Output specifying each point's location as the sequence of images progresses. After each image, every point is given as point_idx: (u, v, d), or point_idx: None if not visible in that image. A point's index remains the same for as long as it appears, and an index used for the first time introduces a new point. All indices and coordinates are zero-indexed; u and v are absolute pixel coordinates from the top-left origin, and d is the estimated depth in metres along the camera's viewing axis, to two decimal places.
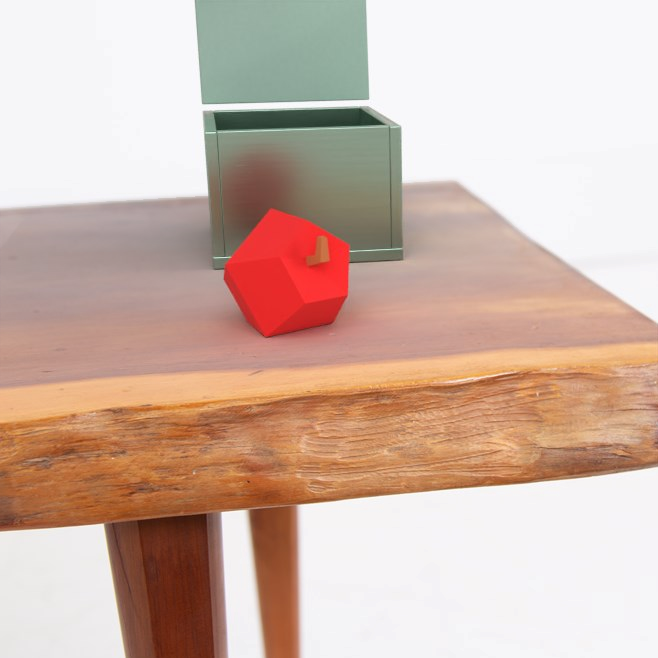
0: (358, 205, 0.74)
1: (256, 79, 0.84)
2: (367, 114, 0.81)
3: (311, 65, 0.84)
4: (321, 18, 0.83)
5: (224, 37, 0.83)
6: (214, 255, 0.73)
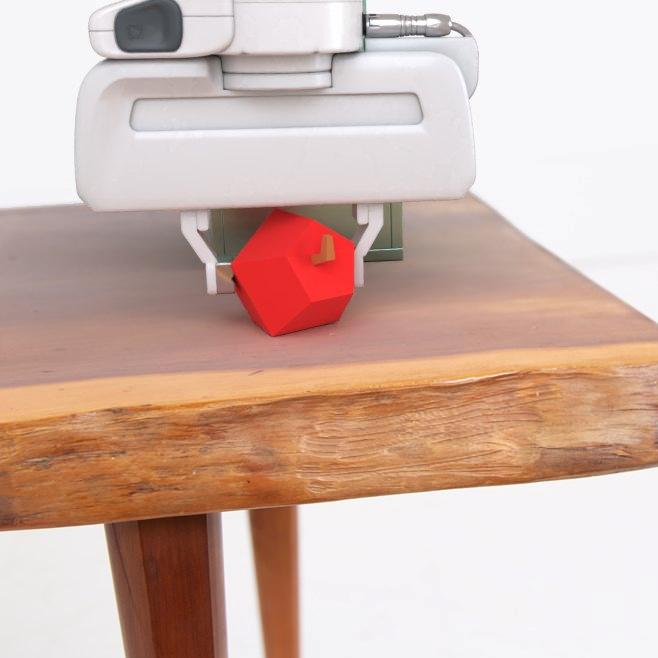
0: None
1: None
2: None
3: None
4: None
5: None
6: None
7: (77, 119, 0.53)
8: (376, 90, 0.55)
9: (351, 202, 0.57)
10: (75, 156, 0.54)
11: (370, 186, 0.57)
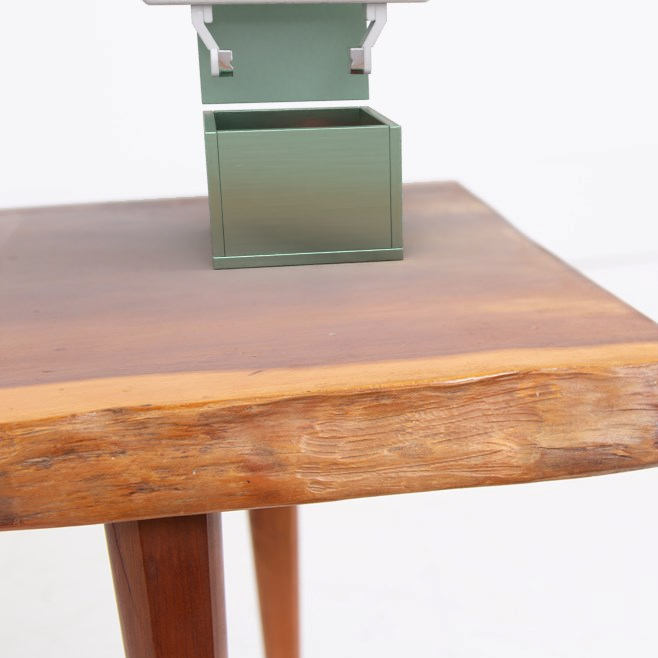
0: (358, 205, 0.74)
1: (256, 79, 0.84)
2: (367, 114, 0.81)
3: (311, 65, 0.84)
4: (321, 18, 0.83)
5: (224, 37, 0.83)
6: (214, 255, 0.73)
7: None
8: None
9: (343, 1, 0.75)
10: None
11: None
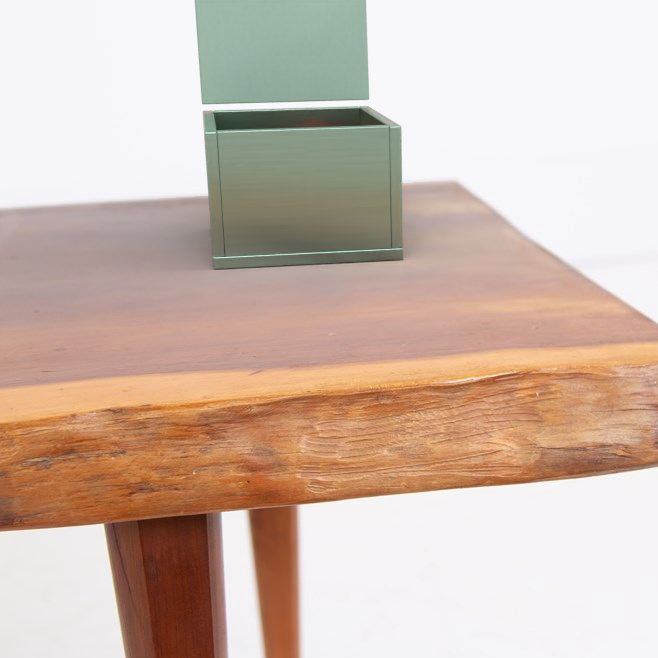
0: (358, 205, 0.74)
1: (256, 79, 0.84)
2: (367, 114, 0.81)
3: (311, 65, 0.84)
4: (321, 18, 0.83)
5: (224, 37, 0.83)
6: (214, 255, 0.73)
7: None
8: None
9: None
10: None
11: None
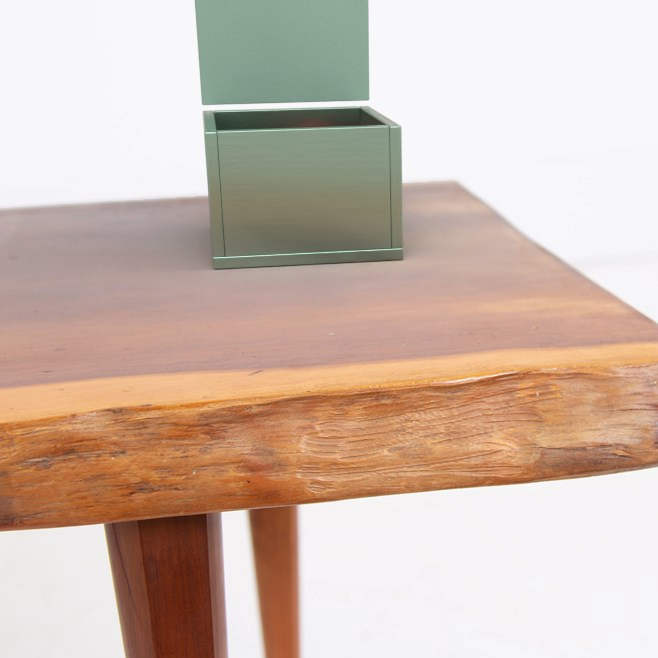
0: (358, 205, 0.74)
1: (256, 80, 0.83)
2: (367, 114, 0.81)
3: (311, 66, 0.84)
4: (322, 19, 0.82)
5: (224, 38, 0.82)
6: (214, 255, 0.73)
7: None
8: None
9: None
10: None
11: None
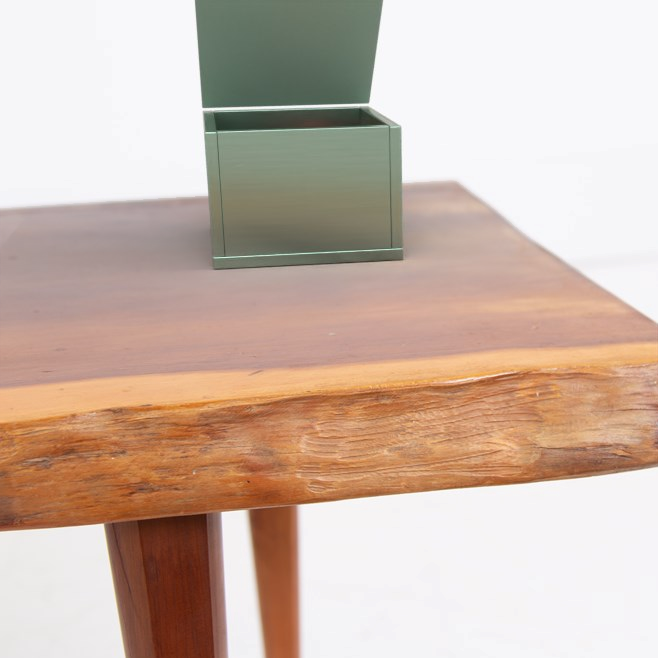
0: (358, 205, 0.74)
1: (257, 92, 0.83)
2: (367, 114, 0.81)
3: (314, 82, 0.83)
4: (329, 51, 0.80)
5: (227, 64, 0.80)
6: (214, 255, 0.73)
7: None
8: None
9: None
10: None
11: None
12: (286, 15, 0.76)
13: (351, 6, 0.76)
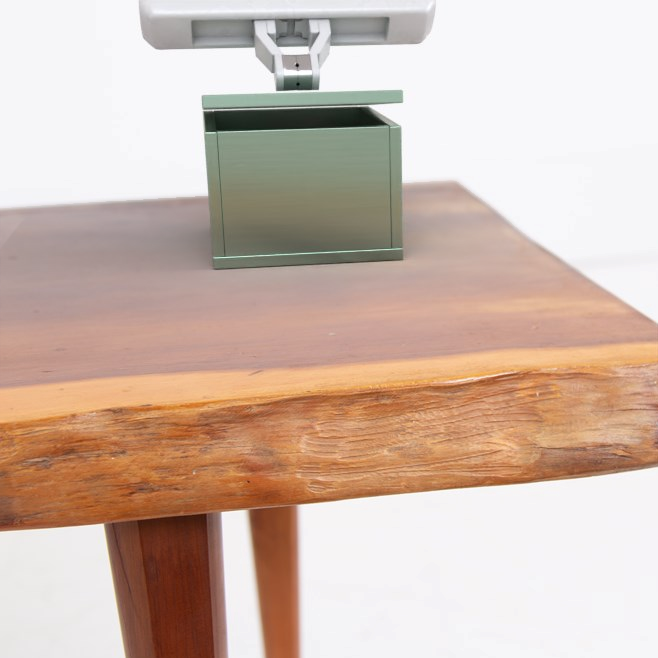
0: (358, 205, 0.74)
1: None
2: (367, 114, 0.81)
3: (315, 106, 0.83)
4: None
5: None
6: (214, 255, 0.73)
7: None
8: None
9: (343, 11, 0.76)
10: None
11: (356, 0, 0.76)
12: None
13: None
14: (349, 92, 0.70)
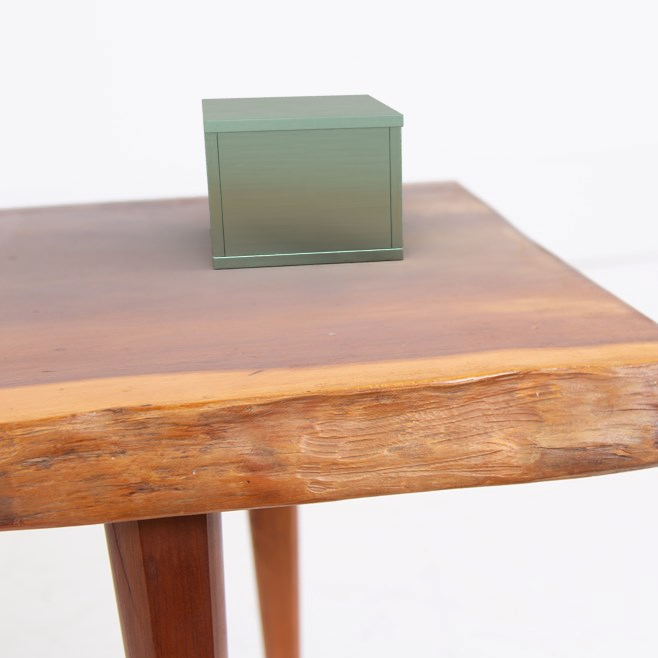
0: (358, 205, 0.74)
1: None
2: None
3: None
4: None
5: None
6: (214, 255, 0.73)
7: None
8: None
9: None
10: None
11: None
12: None
13: None
14: (350, 117, 0.71)
